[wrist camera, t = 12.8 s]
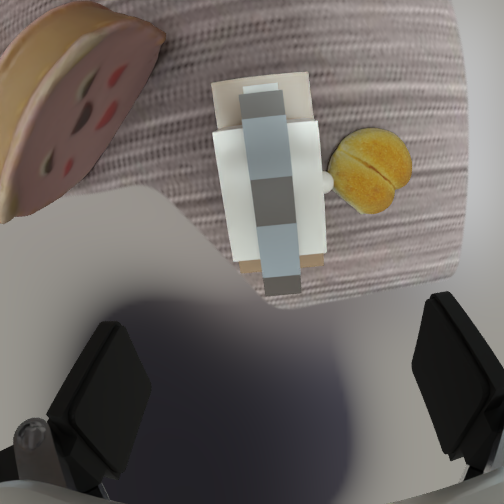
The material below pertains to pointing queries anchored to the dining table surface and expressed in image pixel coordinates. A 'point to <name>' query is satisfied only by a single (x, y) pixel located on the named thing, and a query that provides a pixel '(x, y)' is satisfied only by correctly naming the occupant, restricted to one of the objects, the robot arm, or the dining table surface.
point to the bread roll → (370, 169)
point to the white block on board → (302, 160)
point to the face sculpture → (67, 98)
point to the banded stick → (272, 190)
